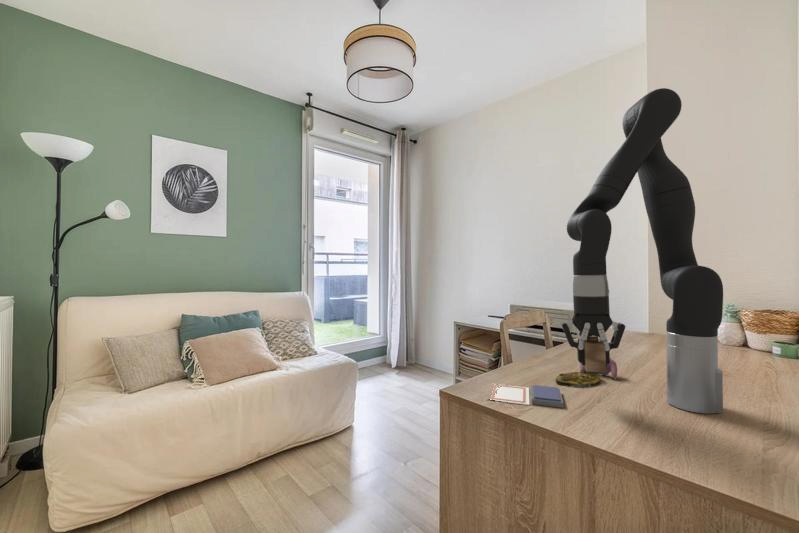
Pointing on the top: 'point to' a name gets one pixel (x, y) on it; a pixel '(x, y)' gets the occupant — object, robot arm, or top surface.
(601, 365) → the stamp
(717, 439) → the top surface
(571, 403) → the top surface
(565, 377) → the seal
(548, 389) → the ink pad
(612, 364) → the video game controller
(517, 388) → the paper sheet
